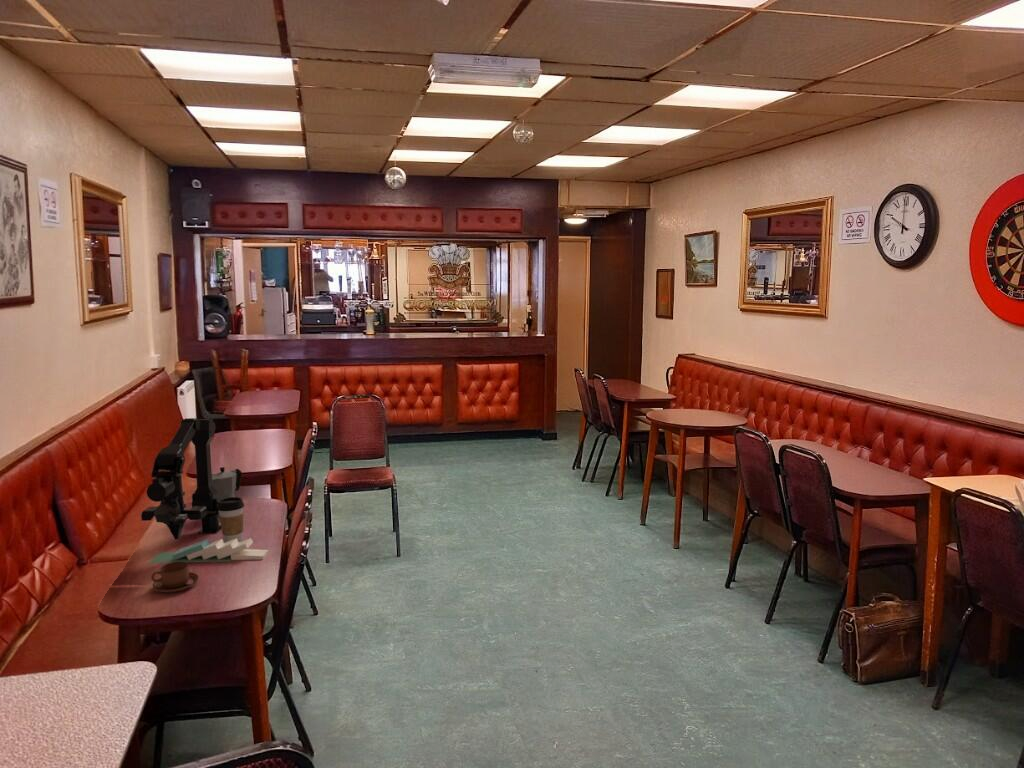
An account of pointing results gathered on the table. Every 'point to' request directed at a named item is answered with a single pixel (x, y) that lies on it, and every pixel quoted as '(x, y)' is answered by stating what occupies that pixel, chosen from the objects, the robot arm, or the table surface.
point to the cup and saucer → (173, 577)
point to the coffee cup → (231, 518)
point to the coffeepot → (226, 483)
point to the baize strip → (169, 558)
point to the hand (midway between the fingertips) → (177, 539)
